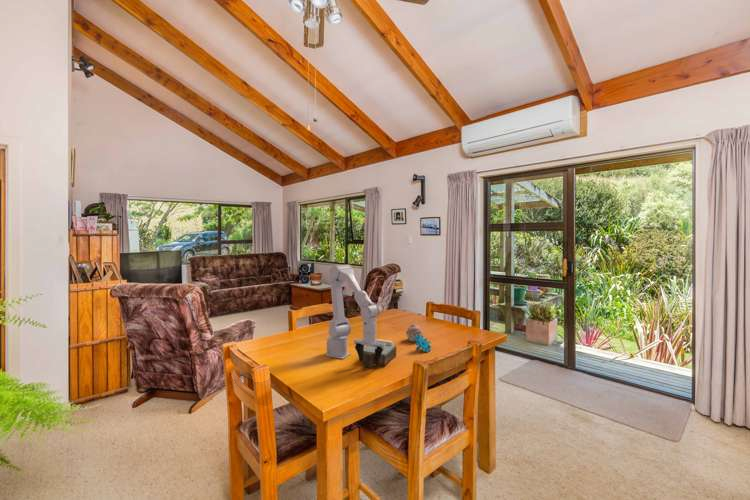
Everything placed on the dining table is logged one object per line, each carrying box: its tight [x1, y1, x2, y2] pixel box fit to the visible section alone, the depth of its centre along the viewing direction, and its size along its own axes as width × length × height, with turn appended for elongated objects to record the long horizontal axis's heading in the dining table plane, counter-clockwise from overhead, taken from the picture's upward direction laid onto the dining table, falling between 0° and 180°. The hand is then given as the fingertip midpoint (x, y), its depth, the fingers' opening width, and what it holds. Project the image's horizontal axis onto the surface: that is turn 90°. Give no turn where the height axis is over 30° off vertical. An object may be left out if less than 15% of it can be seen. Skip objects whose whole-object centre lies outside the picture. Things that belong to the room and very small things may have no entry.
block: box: [364, 352, 374, 370], centre depth 156 cm, size 3×3×6 cm
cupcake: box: [405, 322, 423, 343], centre depth 195 cm, size 9×9×10 cm
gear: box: [415, 334, 432, 354], centre depth 181 cm, size 11×6×10 cm
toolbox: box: [360, 346, 397, 368], centre depth 167 cm, size 12×15×4 cm
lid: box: [363, 338, 397, 356], centre depth 166 cm, size 12×15×2 cm
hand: (369, 362), depth 156 cm, fingers open, 7 cm apart
